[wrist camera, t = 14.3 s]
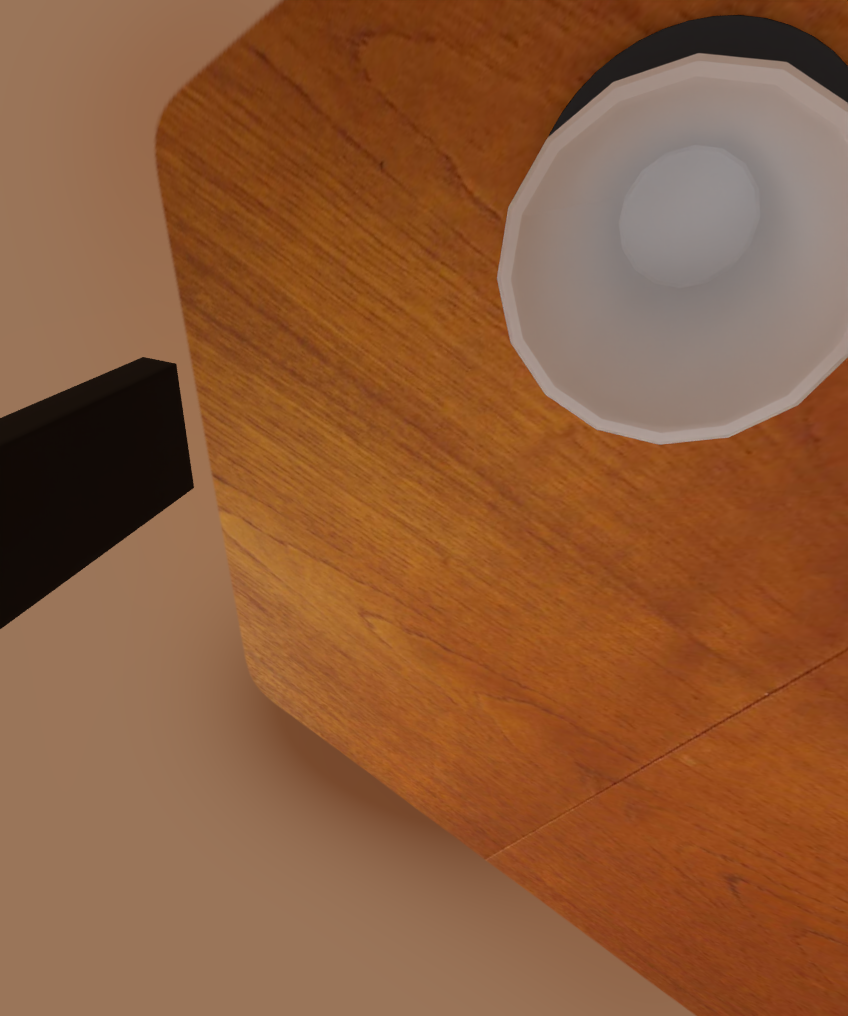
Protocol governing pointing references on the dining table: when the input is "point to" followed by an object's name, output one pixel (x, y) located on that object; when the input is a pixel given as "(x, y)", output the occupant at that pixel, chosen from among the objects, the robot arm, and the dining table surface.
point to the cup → (684, 250)
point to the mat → (719, 53)
